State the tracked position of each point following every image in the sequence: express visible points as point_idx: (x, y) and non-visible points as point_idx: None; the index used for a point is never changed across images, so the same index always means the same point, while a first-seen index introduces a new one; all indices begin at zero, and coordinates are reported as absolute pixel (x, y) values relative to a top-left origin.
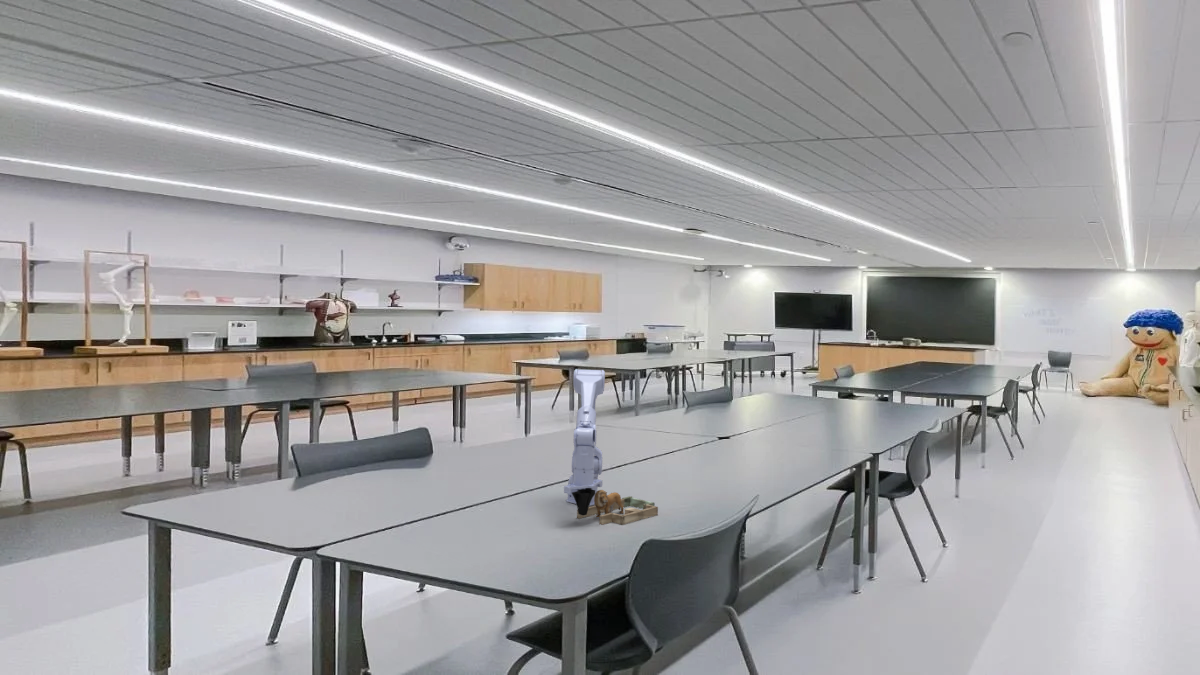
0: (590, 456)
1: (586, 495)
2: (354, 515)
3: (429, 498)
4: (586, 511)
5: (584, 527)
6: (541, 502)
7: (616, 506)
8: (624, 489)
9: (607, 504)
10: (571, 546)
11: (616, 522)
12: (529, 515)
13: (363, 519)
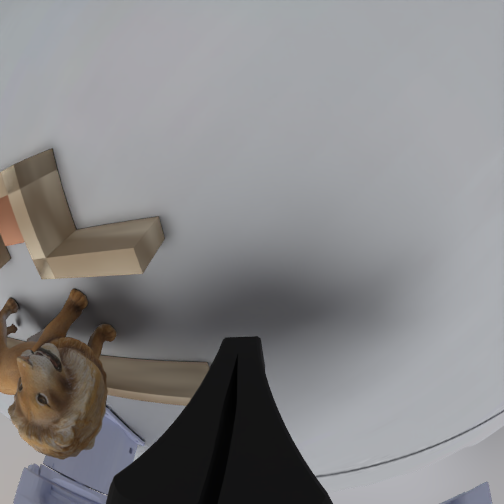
0: None
1: (278, 501)
2: (472, 442)
3: (355, 483)
4: (231, 354)
5: (307, 239)
6: None
7: None
8: None
9: (38, 347)
10: None
11: (60, 197)
12: (331, 433)
13: (486, 431)
